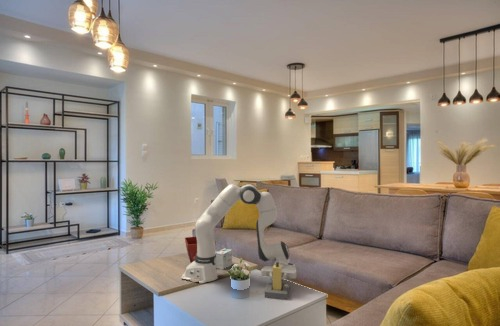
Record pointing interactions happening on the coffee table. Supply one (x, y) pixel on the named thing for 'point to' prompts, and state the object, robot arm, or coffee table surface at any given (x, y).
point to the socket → (277, 292)
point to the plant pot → (191, 247)
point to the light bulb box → (224, 258)
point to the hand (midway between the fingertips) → (277, 277)
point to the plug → (277, 277)
